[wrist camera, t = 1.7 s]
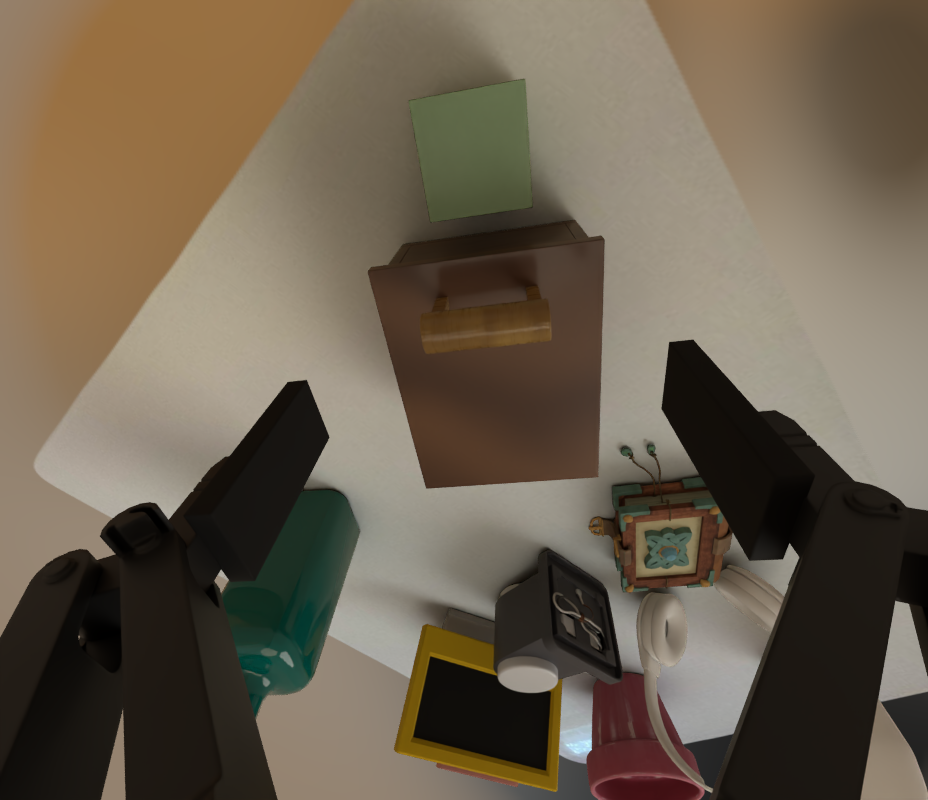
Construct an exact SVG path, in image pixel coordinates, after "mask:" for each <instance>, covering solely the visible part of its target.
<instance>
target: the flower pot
mask: <svg viewBox="0 0 928 800" xmlns="http://www.w3.org/2000/svg"><path fill="white" fill-rule="evenodd" d="M657 698H658V705H659V710H660V715H661V718H662V721H663V724H664V727H665V730H666V732H667V735H668V737H669V739H670V741H671V743H672V744H673V746H674V748H675V749H676V751H677V752H678V754H679V755H680V756H681V758H682V759H683V760H684V761H685V762H686V763H687V764H688V766H689V767H691V768H692V769H693V770H694V771H695V772H696V773H697V774H698V775H699V776H700V773H699V770H698V767H697V763H696V760H695V757H694V755H693V754H692V753H691V752H690V751H689V750H688V749H686V748H684V746H683V744H682V742H681V739H680V737H679V735H678V733H677V731H676V729H675V727H674V725H673V723H672V721H671V719H670V717H669V715H668V713H667V711H666V709H665V707H664V704H663V702H662V700H661V698H660V696H659V694H658V692H657ZM587 770H588V778H589V785H590V790H591V793H592V794H593V795H594V796H595V797H596V798H597V799H599V800H699V799H700V798H701V797H702V796H703V795H704V788H703V787H701V786H700V785H698V784H697V783H696V782H694V781H693V780H692V779H690V778H689V777H688V776H687V775H686V774H685V773H684V772H683V771H681V770H680V768H679V767H678V766H677V765H676V764H675V763H674V762H673V761H672V760H671V758H670V757H669V756H668V754H667V753H666V751H665V750H664V748H663V747H662V745H661V743H660V742H659V740H658V738H657V736H656V734H655V731H654V729H653V726H652V724H651V721H650V717H649V714H648V710H647V705H646V698H645V688H644V676H642V675H639V674H634V673H623V679H622V681H621V682H617V683H614V684H611V685H610V684H607V683H605V682H603V681H601V680H600V679H598V680H597V681H596V682H595V684H594V687H593V714H592V750H591V751H590V752H589V754H588V755H587ZM700 777H701V776H700Z"/></svg>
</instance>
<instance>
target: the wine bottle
mask: <svg viewBox="0 0 928 800" xmlns="http://www.w3.org/2000/svg"><path fill="white" fill-rule="evenodd" d="M860 800H928V792H927V788H926V785H925V782H924V779H923V776H922V773H921V771H920V768H919V766H918V763H917V760H916V758H915V755H914V753H913V751H912V749H911V748H910V746H909V745H908V743H907V742H906V740H905V739H904V737H903V736H902V734H901V733H900V731H899V729H898V728H897V727H896V725H895V724H894V722H893V720H892V719H891V717H890V716H889V714H888V713H887V711H886V710H885V708H884V707H883V705H882V704H881V702H880V701H879V699H878V702H877V708H876V714H875V719H874V725H873V731H872V736H871V742H870V748H869V754H868V759H867V765H866V771H865V776H864V782H863V788H862V794H861V799H860Z"/></svg>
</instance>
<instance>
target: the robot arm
mask: <svg viewBox="0 0 928 800" xmlns="http://www.w3.org/2000/svg"><path fill="white" fill-rule="evenodd" d="M662 410H663V412H664V414H665V416H666V417H667V419H668V421H669V423H670V424H671V426H672V428H673V430H674V431H675V433H676V435H677V436H678V438H679V440H680V442H681V443H682V445H683V447H684V449H685V450H686V452H687V454H688V456H689V457H690V459H691V461H692V462H693V464H694V466H695V468H696V469H697V471H698V473H699V475H700V476H701V478H702V480H703V482H704V483H705V485H706V487H707V488H708V490H709V492H710V494H711V495H712V497H713V499H714V501H715V502H716V504H717V506H718V507H719V509H720V511H721V513H722V514H723V516H724V518H725V520H726V521H727V523H728V525H729V527H730V528H731V530H732V532H733V533H734V535H735V537H736V539H737V540H738V542H739V544H740V546H741V547H742V549H743V551H744V553H745V554H746V556H747V558H748V559H749V561H753V560H778V559H783V558H784V555H785V553H786V550H787V548H788V545H789V543H790V544H791V546H792V547H793V549H794V550H795V551H796V553H797V554H798V556H799V557H800V558H799V560H798V562H797V565H796V567H795V570H794V572H793V574H792V577H791V579H790V582H789V584H788V585H789V586H788V589H787V592H786V594H785V597H784V600H783V602H782V605H781V608H780V610H779V613H778V616H777V619H776V621H775V624H774V627H773V629H772V632H771V635H770V637H769V640H768V643H767V645H766V648H765V651H764V654H763V656H762V659H761V662H760V664H759V667H758V670H757V672H756V675H755V678H754V680H753V683H752V686H751V689H750V691H749V694H748V697H747V699H746V702H745V705H744V707H743V710H742V713H741V715H740V718H739V721H738V724H737V726H736V729H735V732H734V734H733V737H732V740H731V742H730V745H729V748H728V750H727V753H726V756H725V759H724V761H723V764H722V767H721V769H720V772H719V775H718V777H717V780H716V783H715V786H714V788H713V791H712V794H711V796H710V799H709V800H860V799H861V794H862V788H863V782H864V776H865V771H866V765H867V759H868V754H869V748H870V742H871V736H872V731H873V725H874V719H875V714H876V708H877V702H878V696H879V691H880V685H881V679H882V673H883V668H884V662H885V656H886V651H887V645H888V639H889V633H890V628H891V622H892V616H893V611H894V605H895V601H899V602H904V603H908V604H909V606H910V609H911V613H912V617H913V621H914V625H915V629H916V633H917V637H918V641H919V644H920V648H921V652H922V656H923V660H924V664H925V668H926V672H927V676H928V511H926V510H920V509H913V508H908V507H906V506H905V505H904V504H903V503H902V502H901V500H899V499H898V498H897V497H895V496H893V495H892V494H890V493H889V492H887V491H885V490H883V489H880V488H878V487H876V486H873V485H870V484H865V483H860V482H855V481H854V480H853V479H852V478H851V477H850V476H849V475H848V474H847V473H846V472H845V471H844V470H843V469H842V468H841V467H840V466H839V465H838V464H837V463H836V462H835V461H834V460H833V459H832V458H831V457H830V456H829V455H828V454H827V453H826V452H825V451H824V450H823V449H822V448H821V447H820V446H817V443H816V442H815V441H814V440H813V439H812V438H811V437H810V436H809V435H808V436H807V433H806V432H805V431H804V430H803V429H802V428H801V427H800V426H799V425H798V424H797V423H796V422H795V421H794V420H792V419H791V418H789V417H787V416H785V415H783V414H781V413H779V412H778V411H776V410H773V411H761V412H758V411H757V410H756V409H755V408H754V407H753V406H752V404H751V403H750V402H749V401H748V400H747V399H746V398H745V397H744V396H743V395H742V393H741V392H740V391H739V390H738V389H737V388H736V387H735V386H734V385H733V383H732V382H731V381H730V380H729V379H728V378H727V377H726V376H725V375H724V373H723V372H722V371H721V370H720V369H719V368H718V367H717V366H716V365H715V363H714V362H713V361H712V360H711V359H710V358H709V357H708V356H707V355H706V353H705V352H704V351H703V350H702V349H701V348H700V347H699V346H698V345H697V343H696V342H695V341H694V340H685V341H676V342H669V349H668V358H667V366H666V375H665V383H664V392H663V401H662ZM328 439H329V435H328V432H327V430H326V427H325V425H324V422H323V420H322V417H321V415H320V412H319V410H318V407H317V405H316V402H315V400H314V397H313V395H312V392H311V390H310V387H309V385H308V382H307V380H303V381H293V382H287V384H286V385H285V386H284V388H283V389H282V390H281V391H280V393H279V394H278V395H277V396H276V398H275V399H274V400H273V402H272V403H271V404H270V405H269V407H268V408H267V409H266V411H265V412H264V413H263V414H262V416H261V417H260V418H259V419H258V421H257V422H256V423H255V425H254V426H253V427H252V428H251V430H250V431H249V432H248V433H247V435H246V436H245V437H244V439H243V440H242V441H241V442H240V444H239V445H238V446H237V447H236V449H235V450H234V451H233V453H232V454H231V455H230V456H228V457H224V458H223V459H222V460H220V461H219V462H218V463H217V464H215V465H214V466H213V467H211V468H210V470H209V471H208V472H207V473H206V475H205V476H204V477H203V478H202V479H201V480H202V481H201V482H199V483H198V484H197V486H196V487H195V488H194V489H193V490H194V491H193V492H191V493H190V494H189V495H188V497H187V498H186V499H185V500H184V502H183V503H182V504H181V505H180V507H179V508H178V509H177V510H176V511H175V513H174V514H173V515H172V516H171V518H170V519H169V520H168V519H167V517H166V516H165V515H164V513H163V512H162V511H161V509H160V508H159V507H158V505H157V504H155V503H151V502H149V503H142V504H138V505H136V506H133V507H130V508H128V509H127V510H125V511H123V512H121V513H119V514H118V515H117V516H115V517H114V518H113V519H112V520H110V521H109V522H108V523H107V525H106V526H105V527H104V528H103V530H102V532H101V535H100V537H101V538H102V539H103V540H104V542H105V543H106V544H107V545H108V546H109V547H110V548H111V549H112V550H113V551H114V553H115V555H112V556H109V557H106V558H102V559H99V560H96V559H95V558H94V557H93V556H92V555H91V554H90V553H89V551H88V550H83V549H79V550H75V551H71V552H68V553H66V554H64V555H61V556H59V557H57V558H55V559H53V561H50V562H49V563H47V564H46V565H45V566H44V567H43V568H42V569H41V570H40V571H39V572H38V573H37V574H36V575H35V576H34V577H33V579H32V580H31V582H30V583H29V585H28V587H27V589H26V591H25V593H24V595H23V596H22V598H21V600H20V602H19V604H18V606H17V607H16V609H15V611H14V613H13V615H12V617H11V619H10V620H9V622H8V624H7V626H6V628H5V630H4V632H3V634H2V635H1V637H0V800H101V797H102V792H103V788H104V784H105V780H106V776H107V771H108V768H109V764H110V759H111V755H112V751H113V747H114V743H115V739H116V735H117V731H118V727H119V723H120V718H121V714H122V710H123V716H124V752H125V753H124V754H125V790H126V800H277V796H276V792H275V789H274V785H273V781H272V778H271V774H270V770H269V767H268V763H267V760H266V756H265V752H264V749H263V745H262V741H261V738H260V734H259V730H258V727H257V723H256V719H255V716H254V712H253V709H252V705H251V701H250V698H249V694H248V690H247V687H246V683H245V679H244V676H243V672H242V669H241V665H240V661H239V658H238V654H237V650H236V647H235V643H234V639H233V636H232V632H231V628H230V625H229V621H228V618H227V614H226V610H225V607H224V603H223V599H222V596H221V592H220V588H219V587H218V586H217V584H216V583H215V581H214V580H215V578H216V577H217V575H218V573H219V572H220V570H222V571H223V572H224V574H225V575H226V577H227V578H228V579H229V581H230V582H243V581H255V580H256V578H257V576H258V574H259V572H260V571H261V569H262V567H263V565H264V563H265V561H266V559H267V557H268V555H269V553H270V551H271V549H272V547H273V545H274V543H275V542H276V540H277V538H278V536H279V534H280V532H281V530H282V528H283V526H284V524H285V522H286V520H287V518H288V516H289V515H290V513H291V511H292V509H293V507H294V505H295V503H296V501H297V499H298V497H299V495H300V493H301V491H302V489H303V487H304V486H305V484H306V482H307V480H308V478H309V476H310V474H311V472H312V470H313V468H314V466H315V464H316V462H317V460H318V458H319V457H320V455H321V453H322V451H323V449H324V447H325V445H326V443H327V441H328ZM78 636H80V639H79V638H78Z"/></svg>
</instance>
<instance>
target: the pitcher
mask: <svg viewBox="0 0 928 800" xmlns="http://www.w3.org/2000/svg"><path fill="white" fill-rule="evenodd" d="M359 534H360V531H359V528H358V525H357V523H356V520H355V518H354V515H353V513H352V510H351V508H350V505H349V503H348V500H347V499H346V498H345V497H344V496H343V495H342V494H340V493H338V492H336V491H333V490H315V491H301V493H300V495H299V497H298V499H297V501H296V503H295V505H294V507H293V509H292V511H291V513H290V515H289V516H288V518H287V520H286V522H285V524H284V526H283V528H282V530H281V532H280V534H279V536H278V538H277V540H276V542H275V543H274V545H273V547H272V549H271V551H270V553H269V555H268V557H267V559H266V561H265V563H264V565H263V567H262V569H261V571H260V572H259V574H258V576H257V578H256V580H255V581H243V582H230V581H228V583H227V584H226V586H225V587H224V589H223V591H222V593H221V596H222V599H223V603H224V607H225V610H226V614H227V618H228V621H229V625H230V628H231V632H232V636H233V639H234V643H235V647H236V650H237V654H238V658H239V661H240V665H241V669H242V672H243V676H244V679H245V683H246V687H247V690H248V694H249V698H250V701H251V705H252V709H253V712H254V716H255V719H256V718H257V715H258V713H259V710H260V708H261V705H262V703H263V701H264V700H265V698H266V697H267V696H268V695H288V694H292V693H296V692H299V691H301V690H302V689H303V688H305V687H306V686H307V685H308V684H309V682H310V681H311V680H312V678H313V676H314V674H315V671H316V668H317V665H318V662H319V659H320V655H321V652H322V649H323V646H324V643H325V640H326V637H327V634H328V631H329V628H330V625H331V621H332V618H333V615H334V612H335V609H336V606H337V603H338V600H339V597H340V594H341V591H342V587H343V584H344V581H345V578H346V575H347V572H348V569H349V566H350V563H351V560H352V556H353V553H354V550H355V547H356V544H357V541H358V538H359Z"/></svg>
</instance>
